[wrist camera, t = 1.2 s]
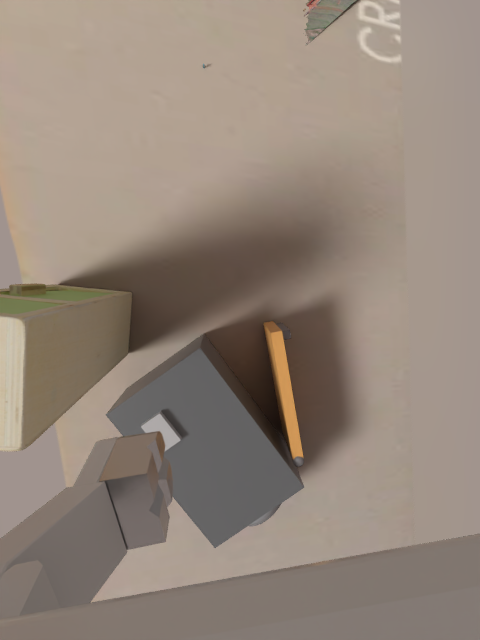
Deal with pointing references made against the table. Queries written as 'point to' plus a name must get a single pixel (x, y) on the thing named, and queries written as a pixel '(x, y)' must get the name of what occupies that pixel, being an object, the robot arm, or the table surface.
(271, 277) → the table surface
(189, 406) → the gray box
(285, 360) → the door
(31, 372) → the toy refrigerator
